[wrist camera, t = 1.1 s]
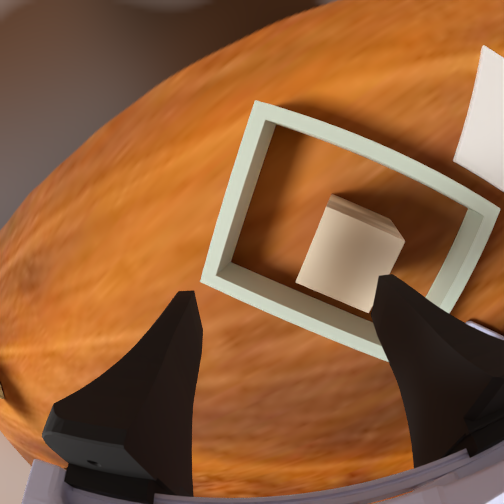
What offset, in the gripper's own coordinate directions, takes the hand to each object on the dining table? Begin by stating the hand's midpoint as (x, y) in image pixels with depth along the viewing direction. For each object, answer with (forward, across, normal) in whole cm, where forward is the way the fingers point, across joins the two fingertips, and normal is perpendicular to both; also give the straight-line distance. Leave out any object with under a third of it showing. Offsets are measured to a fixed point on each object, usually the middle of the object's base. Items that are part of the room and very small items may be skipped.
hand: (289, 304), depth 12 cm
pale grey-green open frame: (+10, -6, +2) cm, 11 cm away
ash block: (+10, -6, +2) cm, 11 cm away
